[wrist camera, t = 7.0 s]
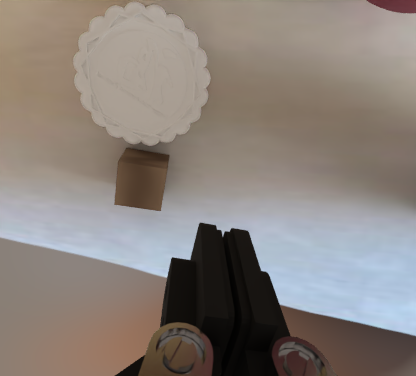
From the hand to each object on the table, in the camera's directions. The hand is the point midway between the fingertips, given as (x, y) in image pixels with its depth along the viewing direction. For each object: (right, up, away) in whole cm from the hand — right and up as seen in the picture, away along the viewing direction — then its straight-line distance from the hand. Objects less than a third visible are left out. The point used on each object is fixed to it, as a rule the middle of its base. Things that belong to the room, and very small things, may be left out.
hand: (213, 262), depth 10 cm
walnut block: (-7, +4, +22) cm, 24 cm away
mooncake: (-6, +13, +19) cm, 24 cm away
